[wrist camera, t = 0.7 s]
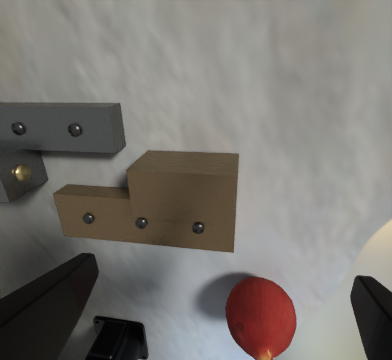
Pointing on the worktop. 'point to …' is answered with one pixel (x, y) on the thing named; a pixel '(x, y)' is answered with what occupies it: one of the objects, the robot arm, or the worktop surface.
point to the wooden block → (159, 203)
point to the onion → (260, 317)
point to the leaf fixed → (51, 138)
